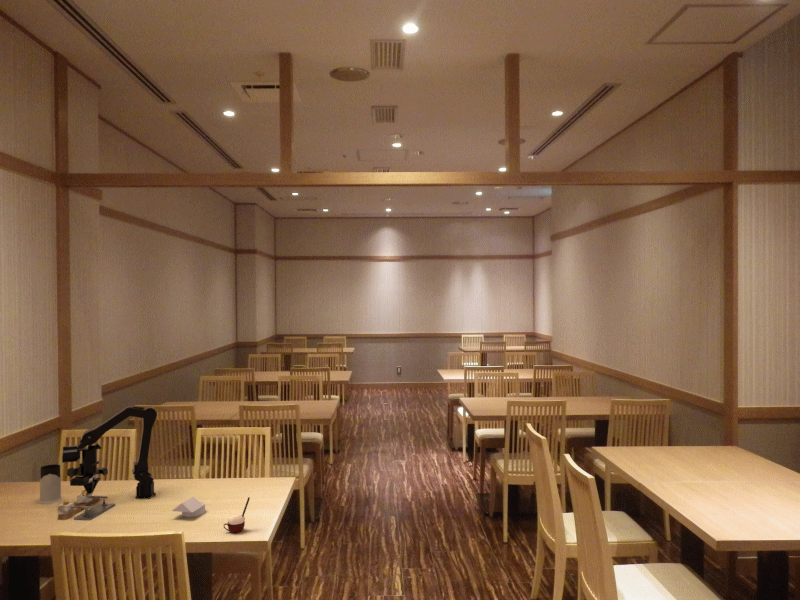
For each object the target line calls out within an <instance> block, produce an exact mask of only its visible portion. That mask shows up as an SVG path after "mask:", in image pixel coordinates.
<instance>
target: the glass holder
mask: <svg viewBox="0 0 800 600" xmlns="http://www.w3.org/2000/svg"><path fill="white" fill-rule="evenodd" d="M61 477H62V476H61V465H60V464H47V465H43V466H41V467H40V478H39V484H40V485H39V501H38V504H39V505H53V504H57V503H60V502H62V501H63V498H62V489H61V488H62V485H61V484H62V482H61V481H62V479H61Z"/></svg>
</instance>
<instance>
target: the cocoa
mask: <svg viewBox="0 0 800 600" xmlns="http://www.w3.org/2000/svg"><path fill="white" fill-rule="evenodd" d="M249 502H250V497H248V496H247V500H246V503H245V506H244V509H243V512H242V514H237V513H236V514H233V515H231V516H229V517H227V523H223V528H224V529H225V530H226V531H228V532H230V533H232V532H233V533H232V534H238V533H237V532H239V533H241V532H242V531H243V530H244V529H245V525H246V524H245V523H246V521H245V520H246V518H245V517H246V516H245V513H246V510H247V507H248V505H249ZM226 525H227V528H226V527H225V526H226ZM240 531H241V532H240Z"/></svg>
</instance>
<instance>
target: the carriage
mask: <svg viewBox="0 0 800 600" xmlns="http://www.w3.org/2000/svg"><path fill="white" fill-rule="evenodd" d="M81 491H82V493H80V494H77V495H76V503H77V504H79V503H88V502H89V501H91V500H92V498H100V499H102V503H103V505H105V503H106V499H108V496H107V495H105V496H104V495H102V496H101V495H93V494H92V493H87V490H85V489H83V490H81Z"/></svg>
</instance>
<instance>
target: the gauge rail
mask: <svg viewBox="0 0 800 600" xmlns="http://www.w3.org/2000/svg"><path fill="white" fill-rule="evenodd" d="M99 501H101V498H92V500H91V501H89V502H88V503H77V504H75V502H69V499H62V503H60V504H58V505H57V520H59V521H60V520H61V521H62V520H63V521H65V520H68V519H70V518H71V517H73V516H75V515H76V514H79V513H80V512H82V511H84V512H85V516H87V510H88V509H90V507H91V506H93V505H94V504H97V503H98V502H99Z"/></svg>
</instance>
